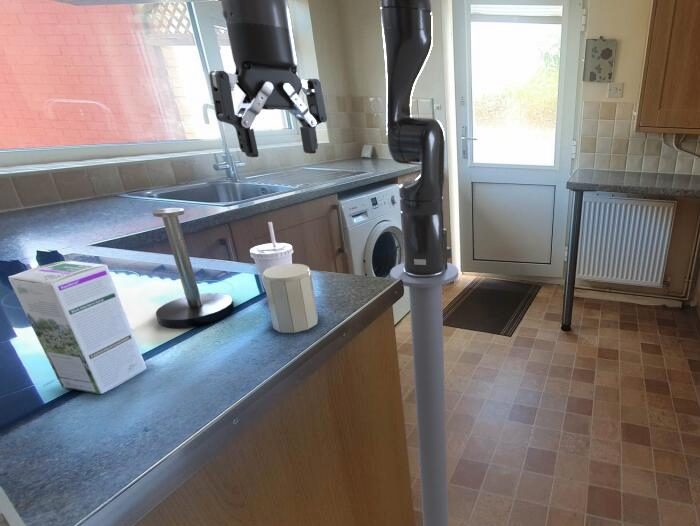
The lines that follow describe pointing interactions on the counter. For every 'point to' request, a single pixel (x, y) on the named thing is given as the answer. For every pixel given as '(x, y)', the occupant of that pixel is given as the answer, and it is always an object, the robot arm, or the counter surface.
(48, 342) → the syrup box
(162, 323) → the towel holder
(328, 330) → the counter surface
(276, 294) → the cup
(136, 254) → the counter surface
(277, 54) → the robot arm
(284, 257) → the smoothie
